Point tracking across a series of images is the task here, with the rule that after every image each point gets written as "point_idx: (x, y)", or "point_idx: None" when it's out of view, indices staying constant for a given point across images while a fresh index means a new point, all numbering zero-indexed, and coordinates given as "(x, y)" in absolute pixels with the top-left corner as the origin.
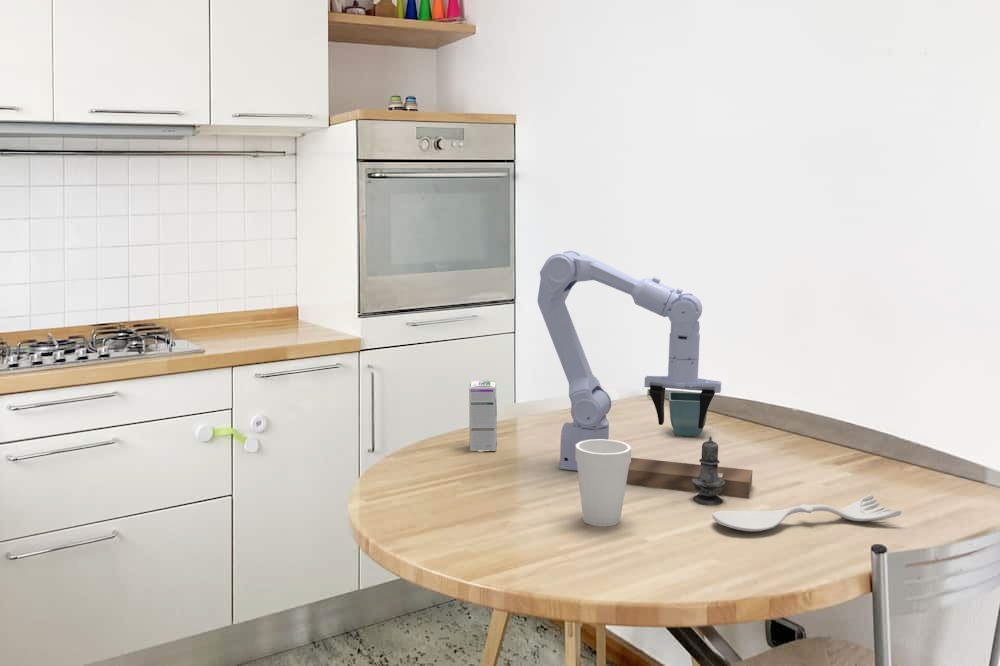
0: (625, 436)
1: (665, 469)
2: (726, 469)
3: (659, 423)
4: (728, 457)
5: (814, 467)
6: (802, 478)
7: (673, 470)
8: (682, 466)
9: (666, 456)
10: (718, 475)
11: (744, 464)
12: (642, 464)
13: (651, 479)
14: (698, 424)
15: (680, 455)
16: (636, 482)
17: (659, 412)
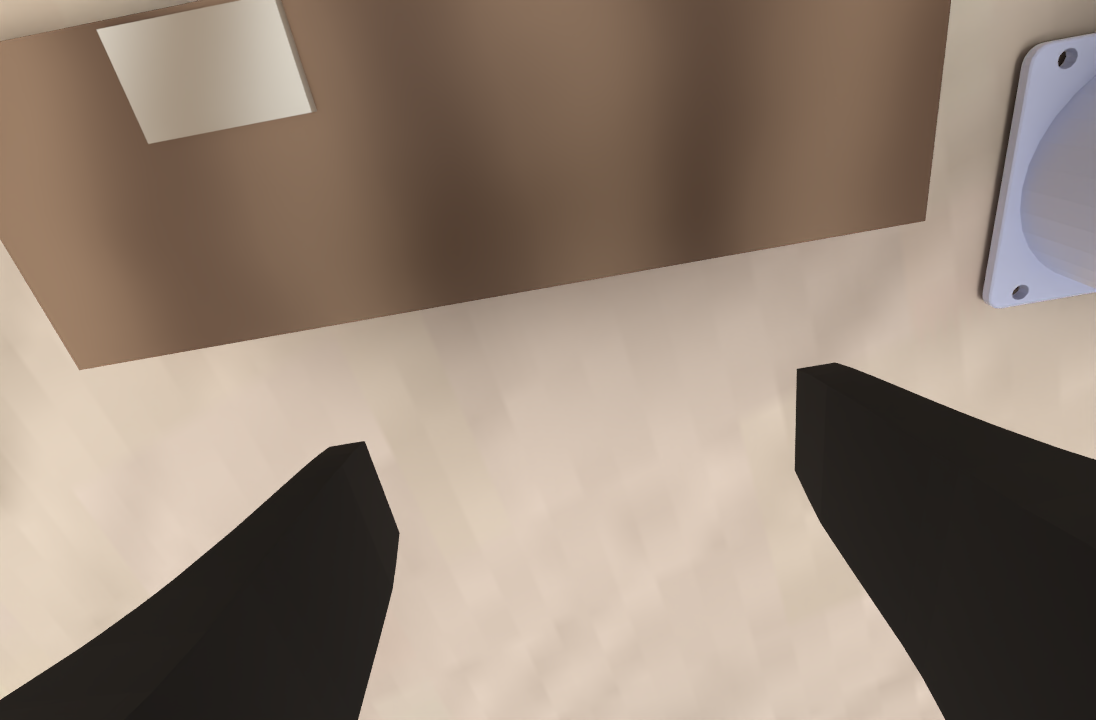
0: None
1: (596, 52)
2: (217, 296)
3: (838, 366)
4: (447, 648)
5: None
6: (19, 546)
7: (530, 59)
8: (505, 205)
9: (712, 544)
10: (140, 59)
11: None
12: (798, 88)
13: None
14: (346, 461)
15: (653, 583)
16: None
17: (938, 424)
